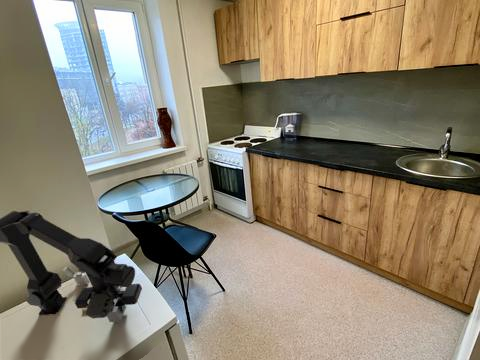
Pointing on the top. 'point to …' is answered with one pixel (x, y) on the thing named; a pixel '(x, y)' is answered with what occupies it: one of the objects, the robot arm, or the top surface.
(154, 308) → the top surface
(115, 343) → the top surface
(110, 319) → the plug block
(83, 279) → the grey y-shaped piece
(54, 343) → the top surface
